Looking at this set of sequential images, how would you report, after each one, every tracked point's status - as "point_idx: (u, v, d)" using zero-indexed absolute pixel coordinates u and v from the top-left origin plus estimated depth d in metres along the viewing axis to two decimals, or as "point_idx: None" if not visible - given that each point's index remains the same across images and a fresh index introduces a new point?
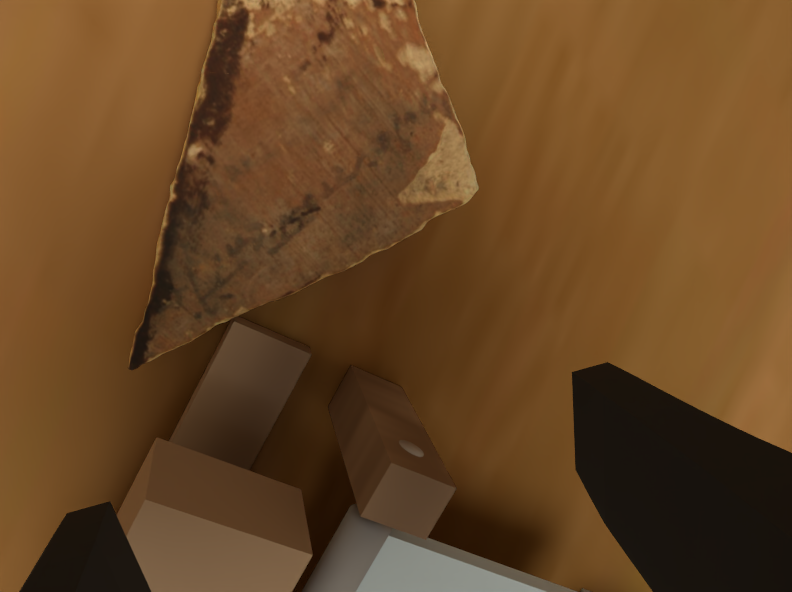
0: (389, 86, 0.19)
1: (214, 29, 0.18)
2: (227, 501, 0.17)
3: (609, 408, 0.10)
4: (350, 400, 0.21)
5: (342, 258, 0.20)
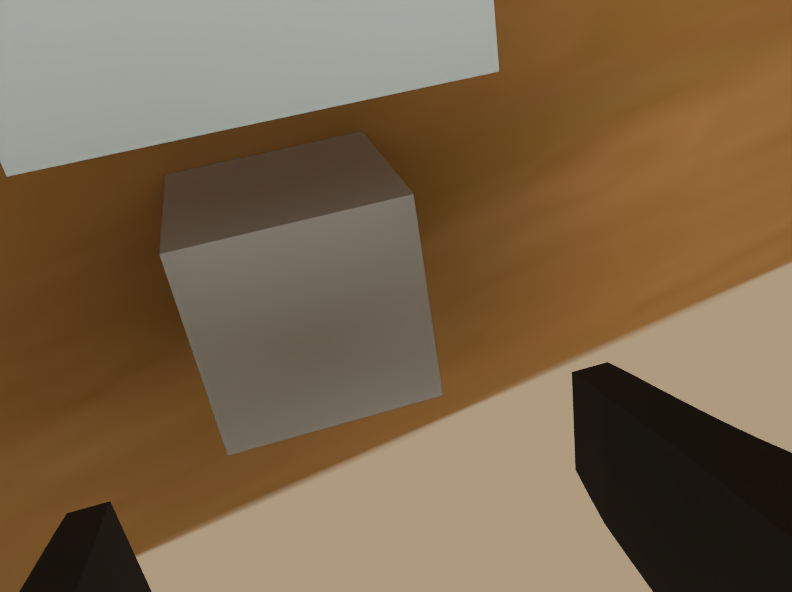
0: None
1: None
2: None
3: (609, 408, 0.10)
4: None
5: None
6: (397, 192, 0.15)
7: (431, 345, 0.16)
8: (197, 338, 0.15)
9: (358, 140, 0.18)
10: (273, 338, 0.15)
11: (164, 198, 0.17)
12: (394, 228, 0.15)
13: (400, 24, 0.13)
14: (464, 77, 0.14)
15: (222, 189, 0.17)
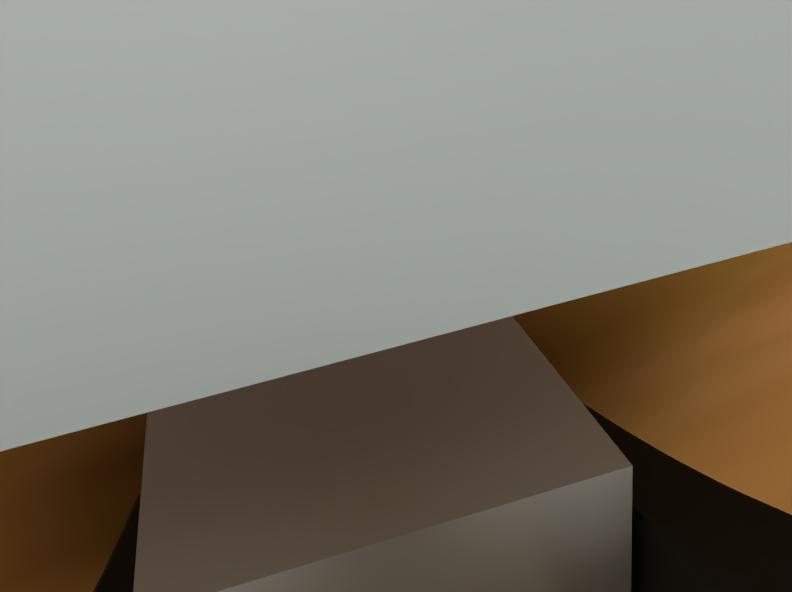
0: None
1: None
2: None
3: None
4: None
5: None
6: (595, 455, 0.08)
7: None
8: None
9: None
10: None
11: (149, 415, 0.09)
12: (589, 523, 0.08)
13: (650, 155, 0.06)
14: (752, 247, 0.07)
15: (251, 399, 0.09)
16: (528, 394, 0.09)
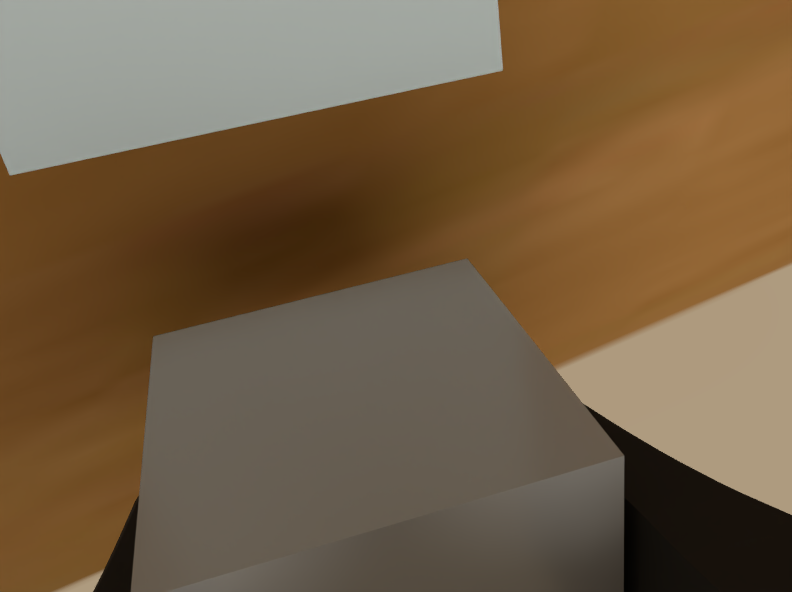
0: None
1: None
2: None
3: None
4: None
5: None
6: (587, 446, 0.08)
7: None
8: None
9: (469, 283, 0.11)
10: None
11: (149, 407, 0.10)
12: (581, 512, 0.08)
13: (404, 23, 0.13)
14: (468, 76, 0.14)
15: (250, 391, 0.10)
16: (523, 386, 0.09)
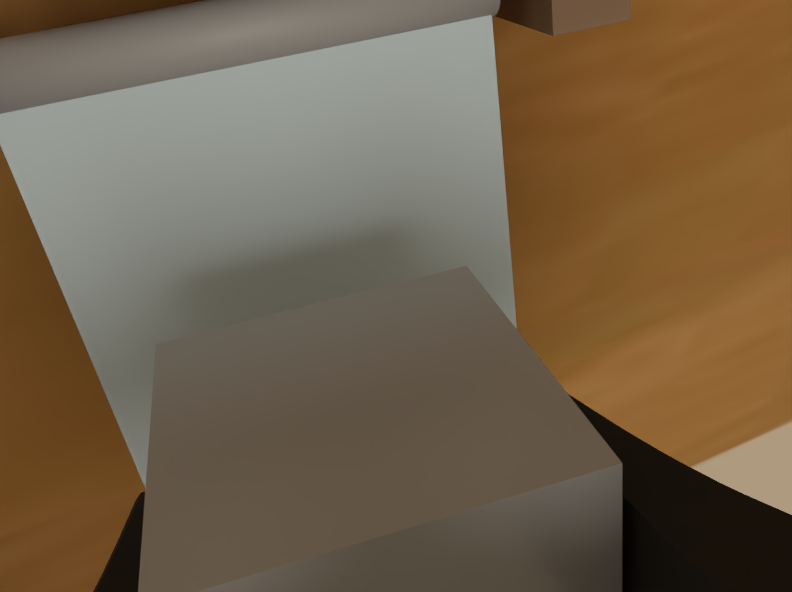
0: None
1: None
2: None
3: None
4: None
5: None
6: (586, 453, 0.08)
7: None
8: None
9: (468, 290, 0.11)
10: None
11: (152, 414, 0.10)
12: (581, 519, 0.08)
13: None
14: None
15: (253, 399, 0.10)
16: (522, 394, 0.09)
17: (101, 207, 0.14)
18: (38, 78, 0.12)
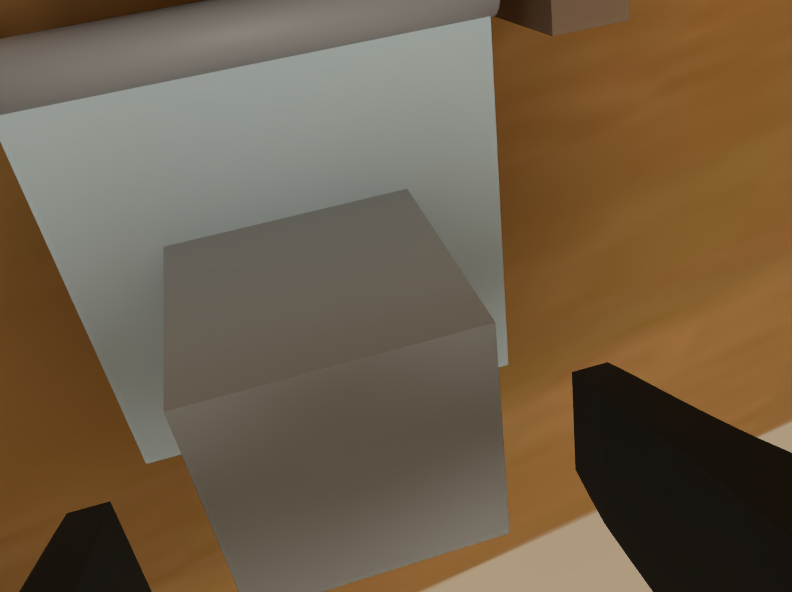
0: None
1: None
2: None
3: (609, 408, 0.10)
4: None
5: None
6: (472, 317, 0.11)
7: (501, 484, 0.13)
8: (213, 500, 0.12)
9: (406, 208, 0.15)
10: (308, 491, 0.12)
11: (165, 295, 0.13)
12: (467, 362, 0.12)
13: None
14: None
15: (239, 285, 0.13)
16: (435, 280, 0.12)
17: (102, 203, 0.14)
18: (39, 81, 0.12)
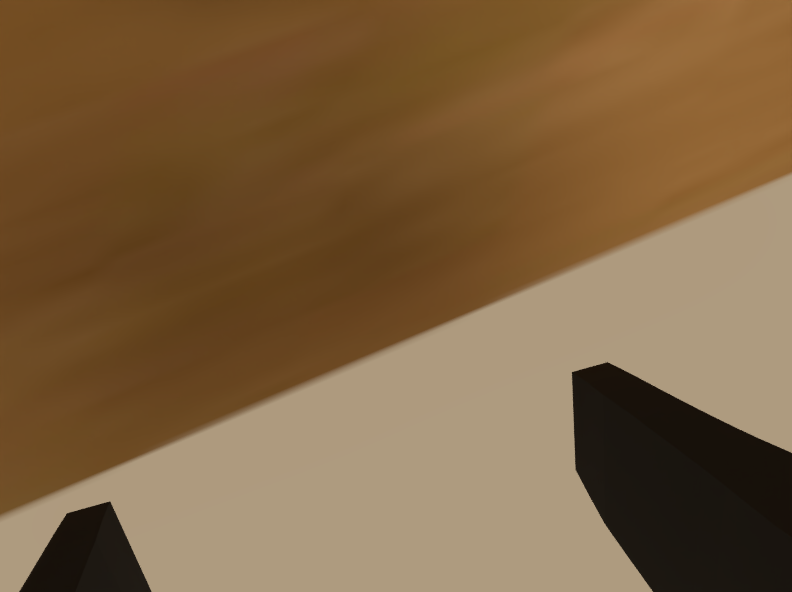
0: None
1: None
2: None
3: (609, 408, 0.10)
4: None
5: None
6: None
7: None
8: None
9: None
10: None
11: None
12: None
13: None
14: None
15: None
16: None
17: None
18: None
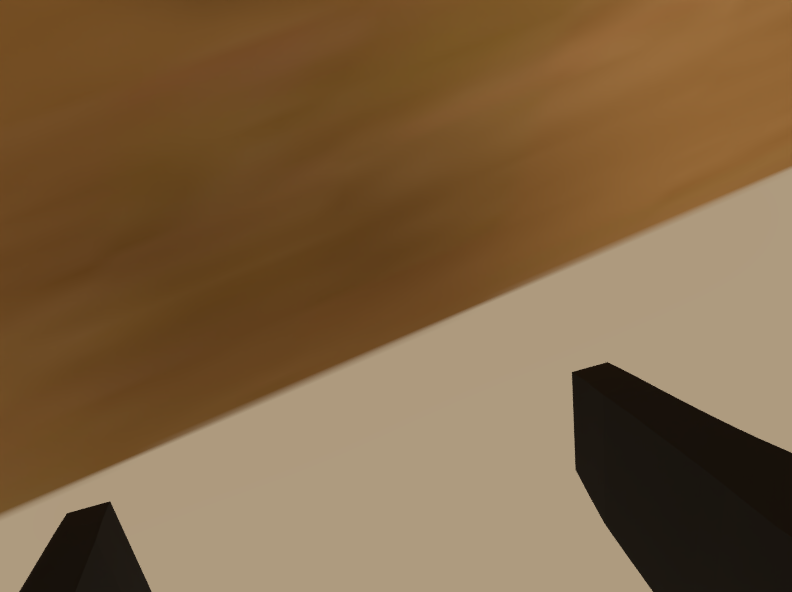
0: None
1: None
2: None
3: (609, 408, 0.10)
4: None
5: None
6: None
7: None
8: None
9: None
10: None
11: None
12: None
13: None
14: None
15: None
16: None
17: None
18: None
